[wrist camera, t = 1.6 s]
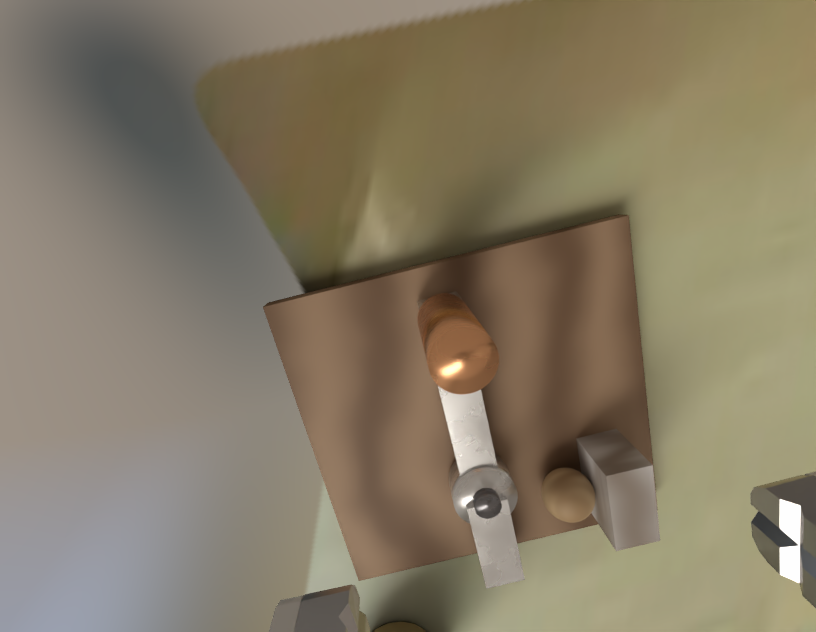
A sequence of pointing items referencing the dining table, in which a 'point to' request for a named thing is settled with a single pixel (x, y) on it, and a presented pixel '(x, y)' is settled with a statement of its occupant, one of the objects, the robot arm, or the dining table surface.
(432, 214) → the dining table surface
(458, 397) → the lever
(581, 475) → the tan wooden ball
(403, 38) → the dining table surface
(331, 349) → the walnut board
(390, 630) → the squeeze bottle
